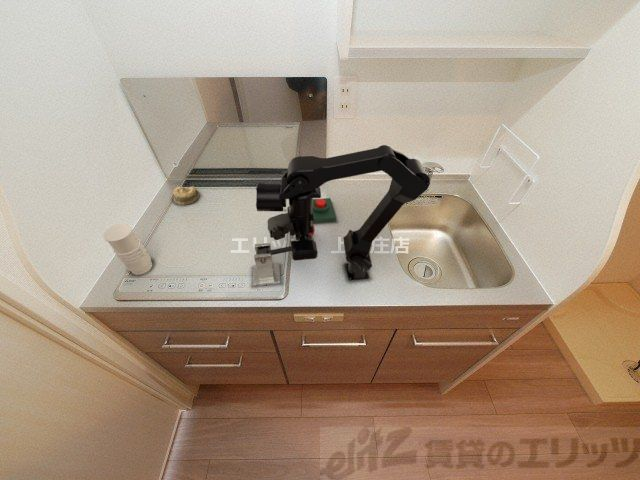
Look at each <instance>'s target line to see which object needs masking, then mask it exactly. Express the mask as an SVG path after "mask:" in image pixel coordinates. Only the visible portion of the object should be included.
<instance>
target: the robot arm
mask: <svg viewBox="0 0 640 480" xmlns="http://www.w3.org/2000/svg"><path fill="white" fill-rule="evenodd" d="M377 172H383V173H384V174H386V175H388V176H389V178H391V181H390V184H389V189H388V190H387V192H386V194H385V195H384V196H383V197H382V199H381V200H380V201H379V202H378V204H377V205H376V207H375V208H374V209H373V211H372V212H371V213H370V215H369V216H368V217H367V219H366V220H365V221H364V223H363V224H362V225H361V227H360V228H359V229H357V230H352V229H349V230H348V232H347V234H346V235H345V236H343V249H344V255H345V260H346V262H348V263H344V268H345V272H346V275H347V279H348V281H360V280H361V281H362V280H369V279H370V276H369V272H368V271H370V270H371V269H372V268H373V264H372V258H371V254H370V252H371V248H372V244H373V242H374V241H375V239H377V237H378V236H379V235H380V234H381V232H382V231H384V229H385V228H386V226H387V225H388V224H389V222H390V221H391V220H392V219H393V218H394V217H395V216H396V214H397V213H398V212H399V211H400V209H402V207H403V206H404V205H405V204H407V203H411V202H413V201H416V200H417V199H418V198H419V197H420V196H421V195H423V194H424V193H425V192H426V191H428V189H429V187H430V186H431V178H430V176H429V175H428V173H427V171H426V170H425V167H424V166H423V164H422V163H421V161H420V160H418V159H416V158H409V157H408V156H406V155H405V154H404V153H402V152H400V151H397V150H395V149H394V148H392V147H391V146H389V145H387V144H381V145H379V146H378V147H374V148H370V149H365V150H360V151H354V152H349V153H345V154H340V155H335V156H329V157H319V156H315V155H301V156H300V155H299V156H296V157H293V158H292V159H291V160H290V161H289V163H288V165H287V170H286V171H285V172H284V174H283V175H282V176H281V177H280V183H264V182H257V184H256V187H255V189H256V190H255V191H256V195H255V196H256V197H255V199H256V202H255V206H256V211H257V212H284V208H286V210H287V211H286V212H285V213H280V214H277V215H274V216H271V217H269V218H268V219H267V231H268V233H269V237H270V238H271V239H273V240H274V241H278V240H282V239H284V238H285V237H286V235H287V234H289V236H290V237H293V236H295V240H290V246H291V250H292V251H291V259H292V260H293V261H305V260H307V261H308V260H316V259H317V258H318V252H319V251H318V247H317V242H316V240H314V239H313V236H310V235H309V233H313V226H312V221H314V217H313V212H312V211H313V199H322V191H321V190H322V188H321V187H322V186H323V185H324V184H326V183H328V182H330V181H336V180H342V179H346V178H350V177H357V176H361V175H365V174H372V173H377ZM287 200H288V207H287Z"/></svg>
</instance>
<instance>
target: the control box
mask: <svg viewBox="0 0 640 480" xmlns="http://www.w3.org/2000/svg"><path fill="white" fill-rule="evenodd" d="M318 199H319V198H313V211H312V212H313V217H314V221H312V224H313V225H314V224H324V223H325V224H327V223H337V216H336V213H335V209H334V206H333V202H332V200H331V197H326V198H325V197H324V198H323V199H324V200H325V202H326V203H325V207H324V208H318V207H316V200H318Z"/></svg>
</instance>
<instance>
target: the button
mask: <svg viewBox="0 0 640 480" xmlns="http://www.w3.org/2000/svg"><path fill="white" fill-rule="evenodd" d="M317 199H318V200H316V207H318V208H324V207H325V203H326V202H325V200H324V198H317Z"/></svg>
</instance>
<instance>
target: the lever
mask: <svg viewBox="0 0 640 480" xmlns="http://www.w3.org/2000/svg"><path fill="white" fill-rule="evenodd" d="M288 252H292V250H291V245H289V246H284V247H279V248H275V249H271V250H269V251H268V249H267V248H263V249H258V250H257V255H258V254H269V253H271V255H272V256H274V255H278V254H285V253H288Z"/></svg>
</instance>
